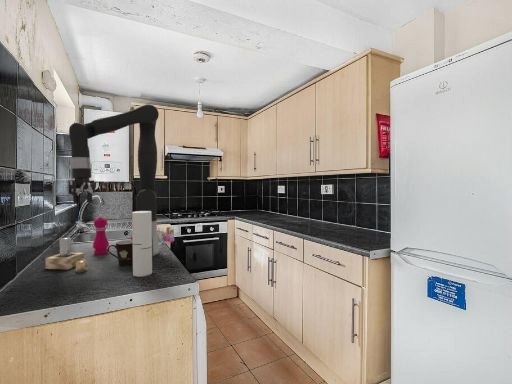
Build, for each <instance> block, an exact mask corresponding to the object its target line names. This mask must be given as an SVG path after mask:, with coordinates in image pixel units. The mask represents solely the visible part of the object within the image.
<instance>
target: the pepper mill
mask: <svg viewBox="0 0 512 384" xmlns="http://www.w3.org/2000/svg"><path fill="white" fill-rule="evenodd" d="M107 224H108V221H107V219H106V218H104V217H103V215H102V214H99V215H98V217H97V218H96V219H95V220H94V221H93V226H94V227H95V228H94V231H95V232H96V233H95V237H94V241H93V243H92V248H93V249H94V252H93V254H94V255H96V256H101V255H106V254H108V253H109V252H108V247H109V246H110V244H109V240H108V238H107V236H106V235H107V234H106V230H107V227H106V226H107Z"/></svg>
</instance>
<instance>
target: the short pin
mask: <svg viewBox="0 0 512 384" xmlns="http://www.w3.org/2000/svg"><path fill="white" fill-rule="evenodd" d="M87 271H88V260H86V259H85V260H80V261H76V266H75V272H76V273H84V272H87Z"/></svg>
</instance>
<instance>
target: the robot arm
mask: <svg viewBox="0 0 512 384" xmlns="http://www.w3.org/2000/svg"><path fill="white" fill-rule="evenodd" d="M159 113H160V112H159V110H158V108H157V107H156V106H155V105H153V104H149V103H148V104H147V103H146V104H144V105H142V106H139V107H137V108H133V109H132V110H129V111H126V112H122V113H118V114H113V115H109V116H105V117H104V116H103V117H101V118H96V119H93V120H92V121H91V122H86V123H84V124H83V123H81V122H74V123H72V124H70V126H69V128H68V132H69V140H70V146H71V149H70V150H71V164H70V165H71V177H72V179H74V180H68V194H69V195H71V196H72V199H73V200H72V201H73V204H74V205H79V204H80V193H81V192H82V191H84V192H85V193H86V202H87V203H93V194H94V193H96V181H95V180H91V179H92V163H91V157H90V155H91V154H90V147H89V139H91V138H94V137H97V136H99V135H104V134H110V133H112V132H116V131H118V130H121V129H123V128H126V127H129V126H131V125H132V126H133V125H136V124H138V126H139V139H138V144H137V145H138V146H137V167H138V175H139V189H138V190H139V191H138V193H137V194H136V201H135V203H136V211H151V217H152V257H154V256H156V255H158V254H159V252H160V251H159V250H160V249H159V246H160V245H159V236H158V235H157V229H158V225H157V222H158V220H157V219H158V216H157V215H158V214H157V213H158V212H157V198H158V197H157V191H156V190H157V189H156V177H157V170H158V169H157V168H158V147H157V141H156V125H157V121H158V119H159Z"/></svg>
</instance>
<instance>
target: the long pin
mask: <svg viewBox="0 0 512 384" xmlns="http://www.w3.org/2000/svg"><path fill="white" fill-rule="evenodd" d="M71 240H72V239H71V237H61V238H59V254H60V257H69V256H71V252H72V243H71Z"/></svg>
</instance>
